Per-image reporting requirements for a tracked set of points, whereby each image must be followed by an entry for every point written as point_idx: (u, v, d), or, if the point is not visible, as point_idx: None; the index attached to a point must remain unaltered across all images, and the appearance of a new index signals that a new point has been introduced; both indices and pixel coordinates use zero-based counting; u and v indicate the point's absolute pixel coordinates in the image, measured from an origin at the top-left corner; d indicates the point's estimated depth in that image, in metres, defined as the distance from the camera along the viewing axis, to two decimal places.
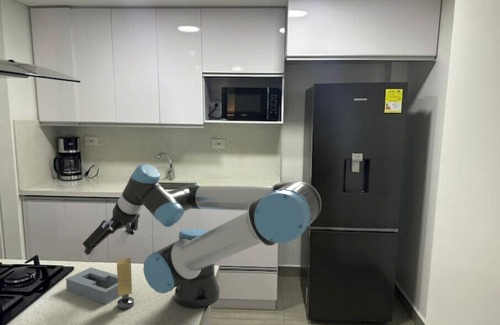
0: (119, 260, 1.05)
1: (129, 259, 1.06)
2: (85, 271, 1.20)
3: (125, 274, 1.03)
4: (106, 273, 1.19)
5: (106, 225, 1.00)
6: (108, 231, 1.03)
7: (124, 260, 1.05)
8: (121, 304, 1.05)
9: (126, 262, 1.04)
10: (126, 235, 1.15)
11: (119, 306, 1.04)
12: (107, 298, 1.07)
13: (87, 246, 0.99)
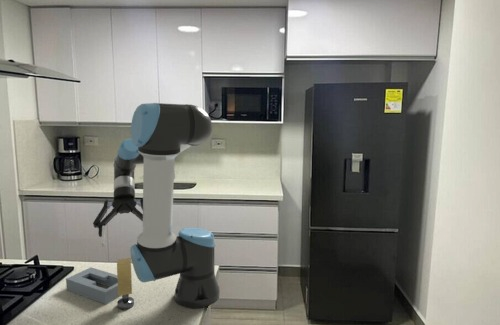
0: (119, 260, 1.05)
1: (129, 259, 1.06)
2: (85, 271, 1.20)
3: (125, 274, 1.03)
4: (106, 273, 1.19)
5: None
6: None
7: (124, 260, 1.05)
8: (121, 304, 1.05)
9: (126, 262, 1.04)
10: None
11: (119, 306, 1.04)
12: (107, 298, 1.07)
13: None
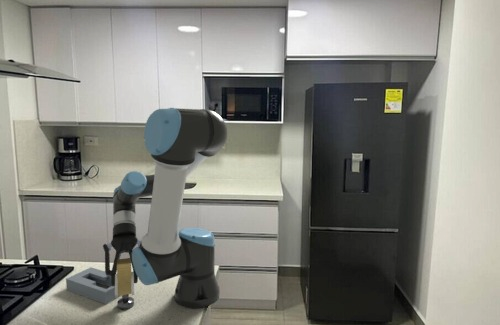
0: (119, 260, 1.05)
1: (129, 259, 1.06)
2: (85, 271, 1.20)
3: (125, 274, 1.03)
4: None
5: (103, 246, 1.09)
6: None
7: (124, 260, 1.05)
8: (121, 304, 1.05)
9: (126, 262, 1.04)
10: (131, 274, 1.05)
11: (119, 306, 1.04)
12: (107, 298, 1.07)
13: None
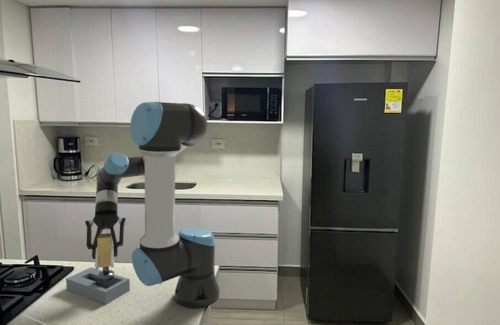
0: (100, 235, 1.12)
1: (109, 234, 1.13)
2: (85, 271, 1.20)
3: (105, 247, 1.10)
4: None
5: None
6: None
7: (104, 235, 1.12)
8: (102, 275, 1.11)
9: (106, 236, 1.11)
10: (111, 248, 1.12)
11: (99, 278, 1.11)
12: (107, 298, 1.07)
13: None
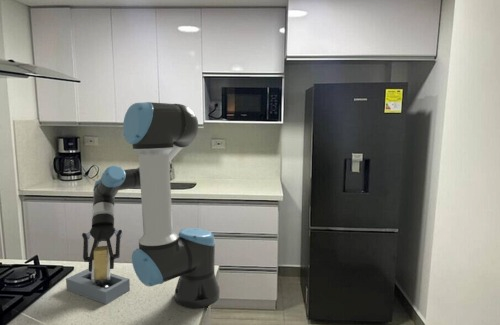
0: (96, 247, 1.13)
1: (106, 246, 1.14)
2: (85, 271, 1.20)
3: (102, 260, 1.11)
4: None
5: None
6: None
7: (101, 247, 1.13)
8: None
9: (103, 249, 1.12)
10: (107, 261, 1.14)
11: None
12: (107, 298, 1.07)
13: None
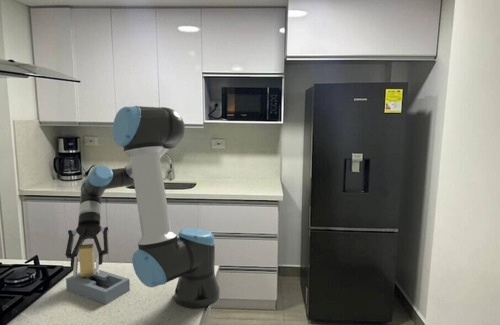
0: (82, 245, 1.16)
1: (91, 244, 1.17)
2: None
3: (87, 257, 1.15)
4: (106, 273, 1.19)
5: None
6: None
7: (86, 245, 1.16)
8: None
9: (88, 247, 1.15)
10: (96, 256, 1.17)
11: None
12: (107, 298, 1.07)
13: None
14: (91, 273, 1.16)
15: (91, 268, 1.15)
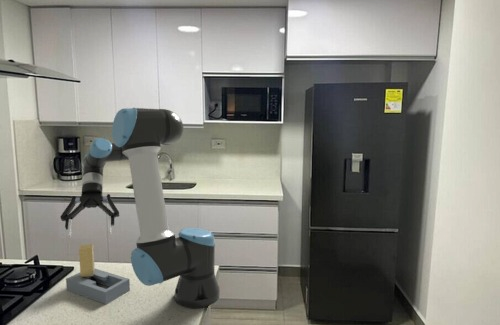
0: (82, 245, 1.16)
1: (91, 244, 1.17)
2: None
3: (87, 257, 1.15)
4: (106, 273, 1.19)
5: None
6: None
7: (86, 245, 1.16)
8: None
9: (88, 247, 1.15)
10: None
11: None
12: (107, 298, 1.07)
13: None
14: (91, 273, 1.16)
15: (91, 268, 1.15)
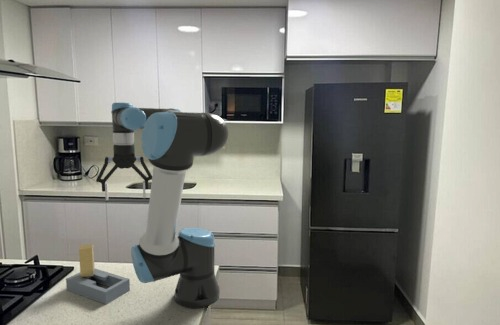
0: (82, 245, 1.16)
1: (91, 244, 1.17)
2: None
3: (87, 257, 1.15)
4: (106, 273, 1.19)
5: (105, 157, 1.23)
6: (113, 167, 1.25)
7: (86, 245, 1.16)
8: None
9: (88, 247, 1.15)
10: (143, 183, 1.29)
11: None
12: (107, 298, 1.07)
13: (96, 179, 1.23)
14: (91, 273, 1.16)
15: (91, 268, 1.15)
